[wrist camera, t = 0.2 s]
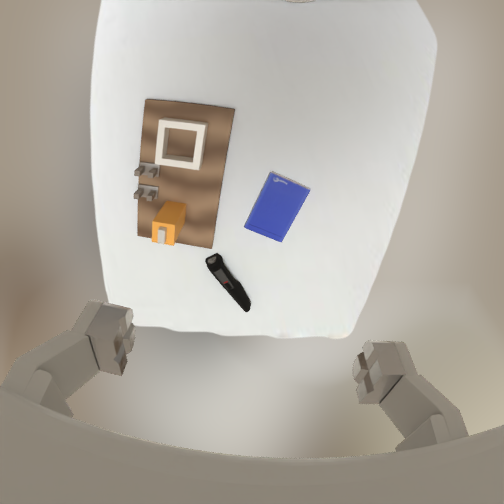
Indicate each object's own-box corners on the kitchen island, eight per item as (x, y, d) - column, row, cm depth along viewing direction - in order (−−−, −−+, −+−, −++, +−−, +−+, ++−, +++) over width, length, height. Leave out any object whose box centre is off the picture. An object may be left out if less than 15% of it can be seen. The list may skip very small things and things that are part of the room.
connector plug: (166, 200, 57) (150, 224, 48) (186, 203, 57) (173, 228, 49) (165, 219, 59) (149, 245, 51) (184, 222, 60) (171, 249, 51)
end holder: (164, 117, 49) (159, 119, 46) (208, 122, 49) (205, 125, 47) (159, 159, 53) (154, 164, 50) (201, 165, 53) (198, 170, 51)
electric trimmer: (240, 306, 73) (240, 315, 70) (204, 258, 66) (202, 266, 63) (254, 300, 72) (254, 309, 69) (219, 251, 65) (217, 259, 62)
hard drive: (270, 172, 54) (243, 227, 60) (310, 190, 56) (281, 243, 62) (270, 169, 55) (244, 224, 61) (309, 187, 57) (281, 239, 63)
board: (147, 99, 48) (138, 101, 44) (234, 109, 49) (232, 111, 45) (139, 233, 62) (131, 244, 58) (212, 245, 64) (209, 258, 60)
